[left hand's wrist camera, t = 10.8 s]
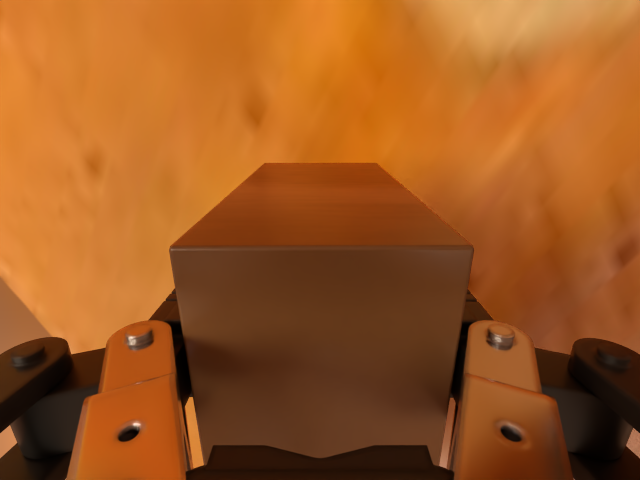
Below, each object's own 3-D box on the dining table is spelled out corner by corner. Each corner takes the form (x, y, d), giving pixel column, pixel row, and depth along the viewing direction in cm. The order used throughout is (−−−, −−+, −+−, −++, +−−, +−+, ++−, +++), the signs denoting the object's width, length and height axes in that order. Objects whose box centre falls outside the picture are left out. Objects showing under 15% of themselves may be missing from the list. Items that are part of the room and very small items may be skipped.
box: (263, 162, 18) (166, 246, 7) (377, 162, 18) (476, 246, 7) (282, 498, 27) (254, 783, 15) (358, 497, 27) (388, 783, 15)
